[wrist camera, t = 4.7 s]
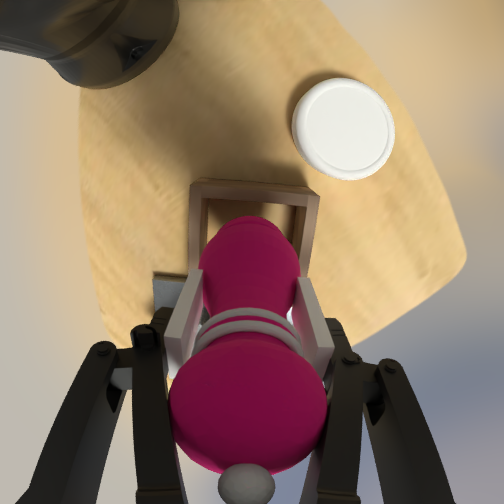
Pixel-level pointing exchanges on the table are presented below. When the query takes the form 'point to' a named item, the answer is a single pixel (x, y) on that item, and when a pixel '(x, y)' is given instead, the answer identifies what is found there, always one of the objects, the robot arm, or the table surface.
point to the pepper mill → (248, 367)
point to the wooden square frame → (258, 193)
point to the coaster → (343, 129)
